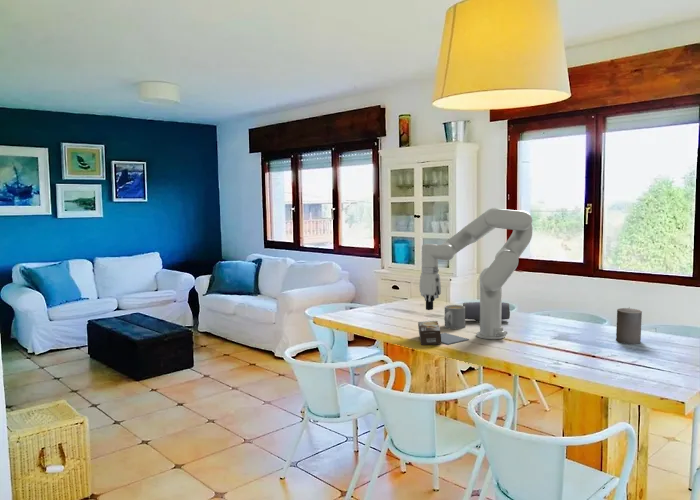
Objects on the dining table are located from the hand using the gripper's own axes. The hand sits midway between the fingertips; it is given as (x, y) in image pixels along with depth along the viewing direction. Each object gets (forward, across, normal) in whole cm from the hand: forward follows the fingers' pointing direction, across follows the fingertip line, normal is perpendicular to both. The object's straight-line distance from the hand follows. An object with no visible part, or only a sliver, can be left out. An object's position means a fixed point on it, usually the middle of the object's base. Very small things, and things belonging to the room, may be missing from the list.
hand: (429, 309), depth 257 cm
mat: (+12, -11, 0) cm, 16 cm away
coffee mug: (+12, +4, -19) cm, 23 cm away
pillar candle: (+11, -64, -58) cm, 87 cm away
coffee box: (+8, -2, +2) cm, 8 cm away
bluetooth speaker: (+12, +3, -42) cm, 44 cm away
